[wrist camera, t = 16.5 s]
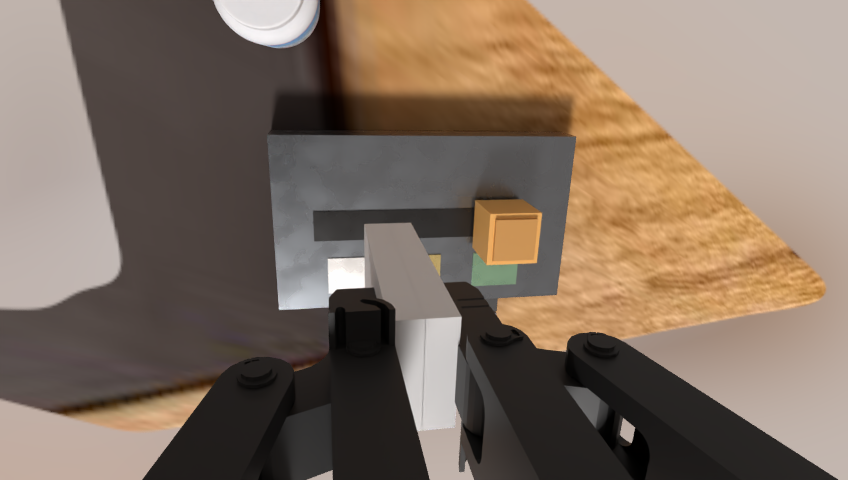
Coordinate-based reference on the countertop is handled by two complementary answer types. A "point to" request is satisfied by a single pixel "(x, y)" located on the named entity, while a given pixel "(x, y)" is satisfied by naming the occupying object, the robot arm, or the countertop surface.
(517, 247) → the orange block
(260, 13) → the pill bottle
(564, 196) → the panel
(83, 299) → the countertop surface
